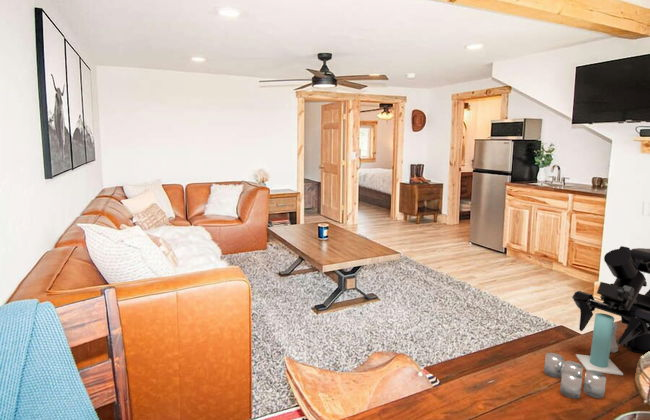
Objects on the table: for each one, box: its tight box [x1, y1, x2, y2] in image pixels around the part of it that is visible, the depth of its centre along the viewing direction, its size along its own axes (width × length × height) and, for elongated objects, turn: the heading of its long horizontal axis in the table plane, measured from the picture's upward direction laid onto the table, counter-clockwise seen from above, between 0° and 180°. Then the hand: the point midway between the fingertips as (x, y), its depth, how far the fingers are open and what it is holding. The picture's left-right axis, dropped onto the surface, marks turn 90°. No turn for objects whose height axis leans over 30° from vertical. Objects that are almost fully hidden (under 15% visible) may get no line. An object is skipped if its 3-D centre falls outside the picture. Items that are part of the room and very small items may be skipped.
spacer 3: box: [582, 370, 607, 399], centre depth 93 cm, size 4×4×4 cm
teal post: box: [589, 312, 615, 368], centre depth 105 cm, size 4×4×13 cm
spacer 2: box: [563, 360, 584, 377], centre depth 98 cm, size 4×4×4 cm
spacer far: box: [559, 371, 584, 400], centre depth 93 cm, size 4×4×4 cm
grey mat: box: [575, 353, 624, 376], centre depth 106 cm, size 8×8×1 cm
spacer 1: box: [543, 352, 565, 379], centre depth 101 cm, size 4×4×4 cm
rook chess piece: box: [610, 321, 619, 354], centre depth 114 cm, size 4×4×8 cm
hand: (599, 337), depth 104 cm, fingers open, 9 cm apart
